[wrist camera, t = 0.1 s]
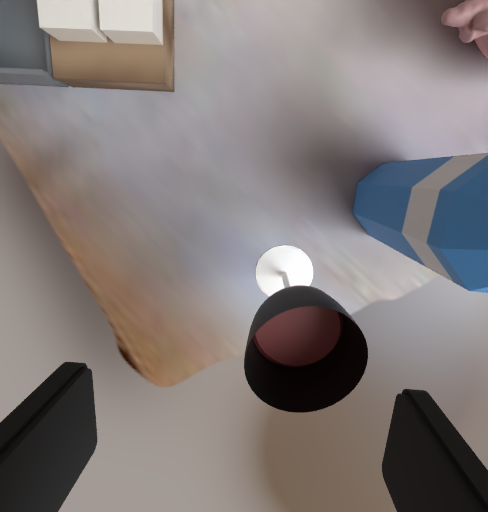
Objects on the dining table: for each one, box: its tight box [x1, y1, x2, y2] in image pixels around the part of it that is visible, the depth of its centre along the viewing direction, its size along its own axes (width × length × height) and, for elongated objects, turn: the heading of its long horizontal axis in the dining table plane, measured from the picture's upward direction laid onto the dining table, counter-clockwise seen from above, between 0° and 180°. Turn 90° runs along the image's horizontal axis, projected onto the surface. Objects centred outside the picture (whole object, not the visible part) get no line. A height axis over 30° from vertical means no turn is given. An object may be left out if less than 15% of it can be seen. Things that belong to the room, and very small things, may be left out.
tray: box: [0, 0, 69, 87], centre depth 33 cm, size 12×8×4 cm
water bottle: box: [352, 153, 488, 293], centre depth 26 cm, size 9×9×25 cm
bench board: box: [50, 0, 174, 92], centre depth 33 cm, size 12×12×4 cm
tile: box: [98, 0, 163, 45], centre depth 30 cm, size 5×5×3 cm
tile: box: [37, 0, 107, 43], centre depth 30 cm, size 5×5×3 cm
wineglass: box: [244, 245, 368, 412], centre depth 31 cm, size 8×9×20 cm
